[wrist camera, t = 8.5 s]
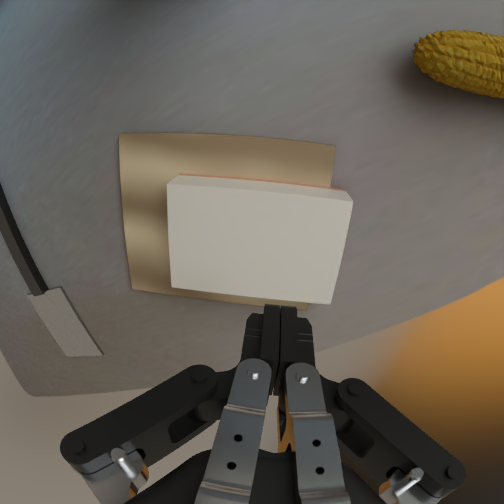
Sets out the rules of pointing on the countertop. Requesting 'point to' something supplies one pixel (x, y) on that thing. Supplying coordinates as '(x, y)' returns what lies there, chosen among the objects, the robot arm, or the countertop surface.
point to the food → (463, 60)
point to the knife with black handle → (47, 294)
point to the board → (205, 163)
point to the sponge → (256, 236)
